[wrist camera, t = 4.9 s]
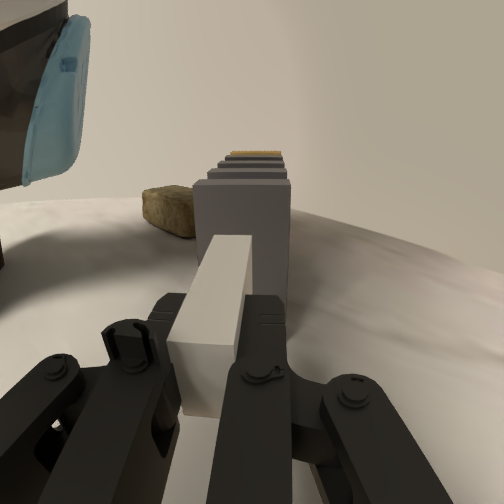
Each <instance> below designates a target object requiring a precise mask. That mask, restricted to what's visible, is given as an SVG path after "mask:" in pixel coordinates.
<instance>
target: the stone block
mask: <svg viewBox="0 0 504 504" xmlns="http://www.w3.org/2000/svg"><path fill="white" fill-rule="evenodd" d="M142 200H143V207H142V210H143V217H144V218H145V219H146V221H148V222H149V223H152V224H153V225H154V226H157V227H159V228H161V229H163V230H166V231H168V232H171V233H173V234H175V235H178V236H181V237H196V231H195V217H194V202H193V188H188V187H183V186H178V185H171V186H165V187H160V188H152V189H148V190H144V191H143V193H142Z"/></svg>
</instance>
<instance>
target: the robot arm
mask: <svg viewBox="0 0 504 504" xmlns="http://www.w3.org/2000/svg"><path fill="white" fill-rule="evenodd" d="M67 1H68V0H0V190H4V189H8V188H12V187H16V186H20V185H23V186H24V187H25V186H28V185H30V183H31V182H33V181H37V180H41V179H44V178H48V177H52V176H56V175H60V174H62V173H64V172H65V171H67V170H68V169H69V168H70V167H71V166H72V165H73V164H74V162H75V160H76V158H77V156H78V153H79V149H80V143H81V136H82V127H83V116H84V106H85V95H86V85H87V74H88V62H89V52H90V27H91V23H90V20H89V19H88V18H87V17H85V16H79V15H77V14H76V15H72V16H71V17H70V18H69V16H68V2H67ZM101 335H102V338H103V341H104V344H105V346H106V349H107V352H108V355H109V358H110V361H109V363H108V365H106V366H100V367H88V368H80V366H79V364H78V361H77V359H75V358H74V357H73V356H72V355H68V354H55V355H52V356H49V357H47V358H45V359H44V360H42V361H41V362H39V363H38V364H37V365H36V366H35V367H34V368H33V369H32V370H31V371H30V372H29V373H27V374H26V375H25V376H24V377H23V378H22V379H21V380H20V381H19V382H18V383H17V384H16V385H15V386H13V387H12V388H11V389H10V390H9V391H8V392H7V393H6V394H5V395H4V396H3V397H2V398H1V399H0V504H161V502H162V498H163V494H164V490H165V486H166V482H167V478H168V474H169V470H170V466H171V462H172V458H173V454H174V450H175V447H176V443H177V439H178V435H179V431H180V424H179V420H178V417H177V416H178V413H179V409H180V406H182V409H183V413H184V415H190V416H199V417H210V418H220V423H219V429H218V435H217V441H216V447H215V453H214V458H213V464H212V470H211V476H210V482H209V488H208V494H207V500H206V504H292V459H296V460H300V461H304V462H308V463H309V465H310V468H311V471H312V474H313V476H314V479H315V482H316V484H317V487H318V490H319V493H320V495H321V498H322V501H323V503H324V504H453V502H452V500H451V498H450V497H449V495H448V493H447V492H446V490H445V488H444V487H443V485H442V483H441V482H440V480H439V478H438V477H437V475H436V473H435V472H434V470H433V469H432V467H431V465H430V464H429V462H428V460H427V459H426V457H425V455H424V454H423V452H422V451H421V449H420V447H419V446H418V444H417V443H416V441H415V439H414V438H413V436H412V435H411V433H410V431H409V430H408V428H407V427H406V425H405V424H404V422H403V420H402V419H401V417H400V416H399V414H398V413H397V411H396V409H395V408H394V406H393V405H392V403H391V402H390V400H389V399H388V397H387V396H386V394H385V392H384V391H383V389H382V388H381V387H380V386H379V385H378V384H377V383H376V382H375V381H374V380H372V379H370V378H368V377H366V376H363V375H358V374H344V375H340V376H338V377H335V378H333V379H332V380H331V381H330V382H328V383H327V384H326V385H325V384H320V383H316V382H312V381H309V380H306V379H303V378H301V377H300V376H298V375H296V374H295V373H294V372H293V371H292V370H291V368H290V367H289V365H288V362H287V351H286V328H285V308H284V303H283V302H282V301H281V299H280V298H279V297H278V295H252V235H214V236H213V238H212V240H211V243H210V245H209V247H208V249H207V251H206V253H205V255H204V258H203V260H202V262H201V264H200V266H199V268H198V271H197V273H196V275H195V277H194V279H193V281H192V284H191V286H190V288H189V290H188V293H187V294H186V293H167V294H166V295H164V296H163V297H162V298H161V299H159V300H158V301H157V303H156V304H155V306H154V308H153V310H152V312H151V313H150V315H149V317H148V320H146V321H143V320H139V319H125V320H121V321H118V322H115V323H113V324H111V325H109V326H107V327H106V328H105V329H104V330H103V331H102V332H101ZM56 420H58V421H59V423H60V425H59V426H58V427H56V428H53V427H52V426H51V425H52V424H53V423H54V422H55V421H56Z"/></svg>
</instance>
